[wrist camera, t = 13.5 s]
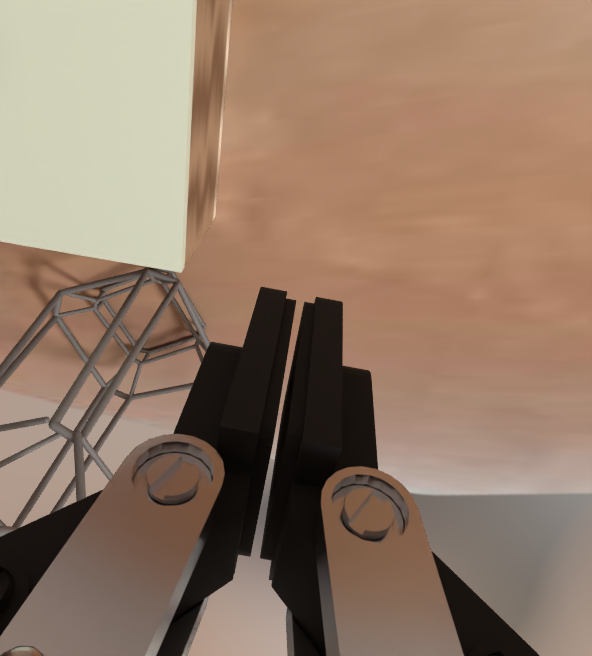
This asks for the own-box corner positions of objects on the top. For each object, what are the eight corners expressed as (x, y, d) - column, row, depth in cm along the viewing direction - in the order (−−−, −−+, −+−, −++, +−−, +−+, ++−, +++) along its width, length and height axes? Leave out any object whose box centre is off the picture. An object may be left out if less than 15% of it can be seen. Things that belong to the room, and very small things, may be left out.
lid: (-144, -221, 23) (-162, -229, 22) (203, -148, 24) (199, -153, 23) (-43, 226, 35) (-52, 232, 34) (184, 266, 36) (181, 272, 35)
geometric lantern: (253, 355, 52) (125, 809, 23) (125, 384, 56) (-118, 799, 27) (187, 218, 44) (-130, 649, 15) (44, 263, 48) (-418, 669, 19)
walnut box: (-9, -159, 32) (-136, -217, 23) (241, -108, 32) (204, -148, 24) (34, 182, 44) (-39, 224, 35) (215, 216, 44) (184, 266, 36)
